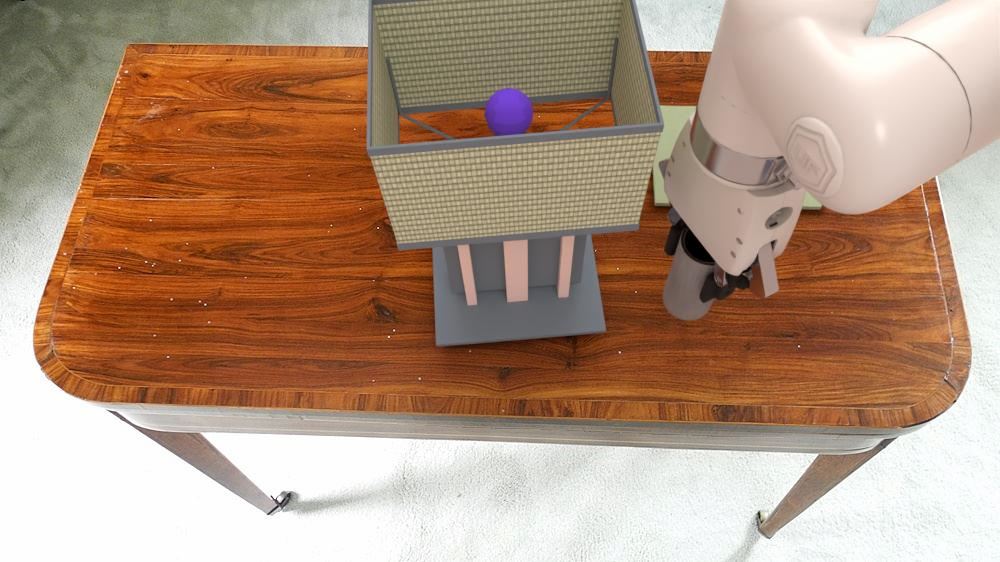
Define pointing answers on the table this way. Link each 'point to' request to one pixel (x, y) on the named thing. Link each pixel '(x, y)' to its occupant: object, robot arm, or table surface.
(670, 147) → the mat
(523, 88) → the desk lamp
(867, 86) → the robot arm
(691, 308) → the gray hollow cylinder
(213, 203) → the table surface
